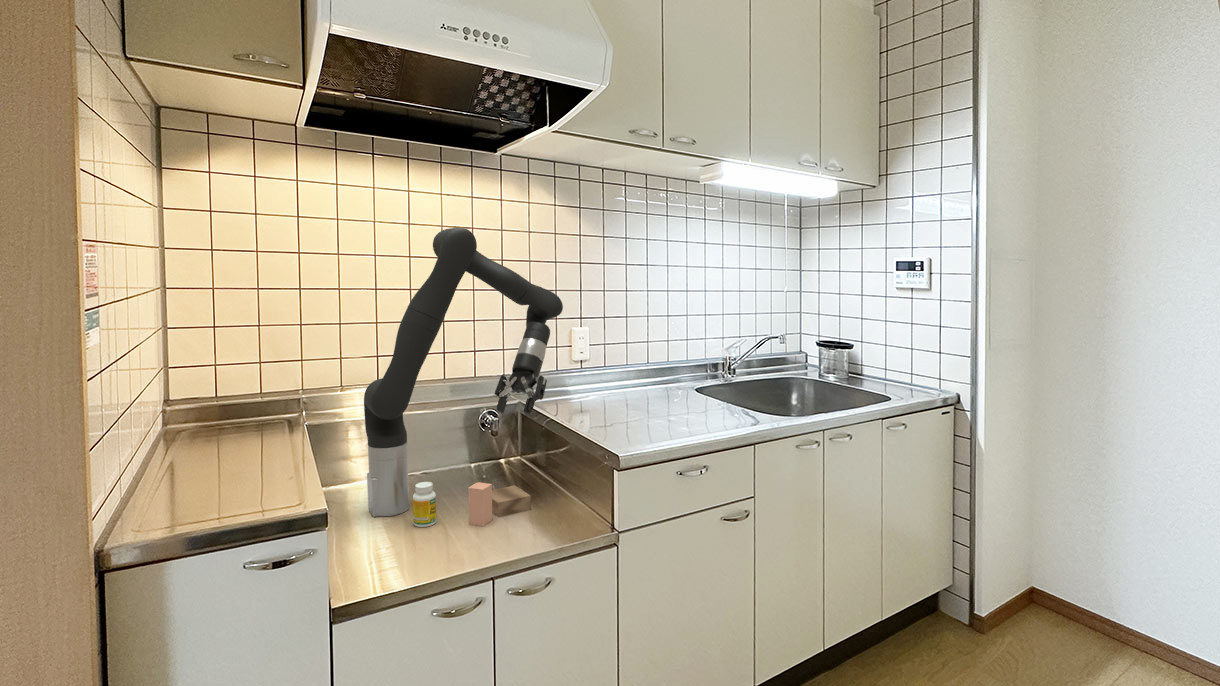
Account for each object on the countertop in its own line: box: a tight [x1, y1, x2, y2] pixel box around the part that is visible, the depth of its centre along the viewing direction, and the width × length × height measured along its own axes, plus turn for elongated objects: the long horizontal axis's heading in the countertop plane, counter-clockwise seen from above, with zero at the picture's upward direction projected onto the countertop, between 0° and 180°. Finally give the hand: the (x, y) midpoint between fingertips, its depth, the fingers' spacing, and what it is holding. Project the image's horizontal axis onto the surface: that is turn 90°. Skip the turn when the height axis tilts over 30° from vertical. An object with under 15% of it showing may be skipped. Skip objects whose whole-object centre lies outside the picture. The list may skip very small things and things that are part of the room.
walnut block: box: [492, 484, 532, 518], centre depth 152 cm, size 9×9×4 cm
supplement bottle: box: [412, 481, 437, 528], centre depth 141 cm, size 5×5×10 cm
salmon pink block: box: [467, 481, 493, 527], centre depth 142 cm, size 4×4×9 cm
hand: (513, 412), depth 155 cm, fingers open, 8 cm apart
